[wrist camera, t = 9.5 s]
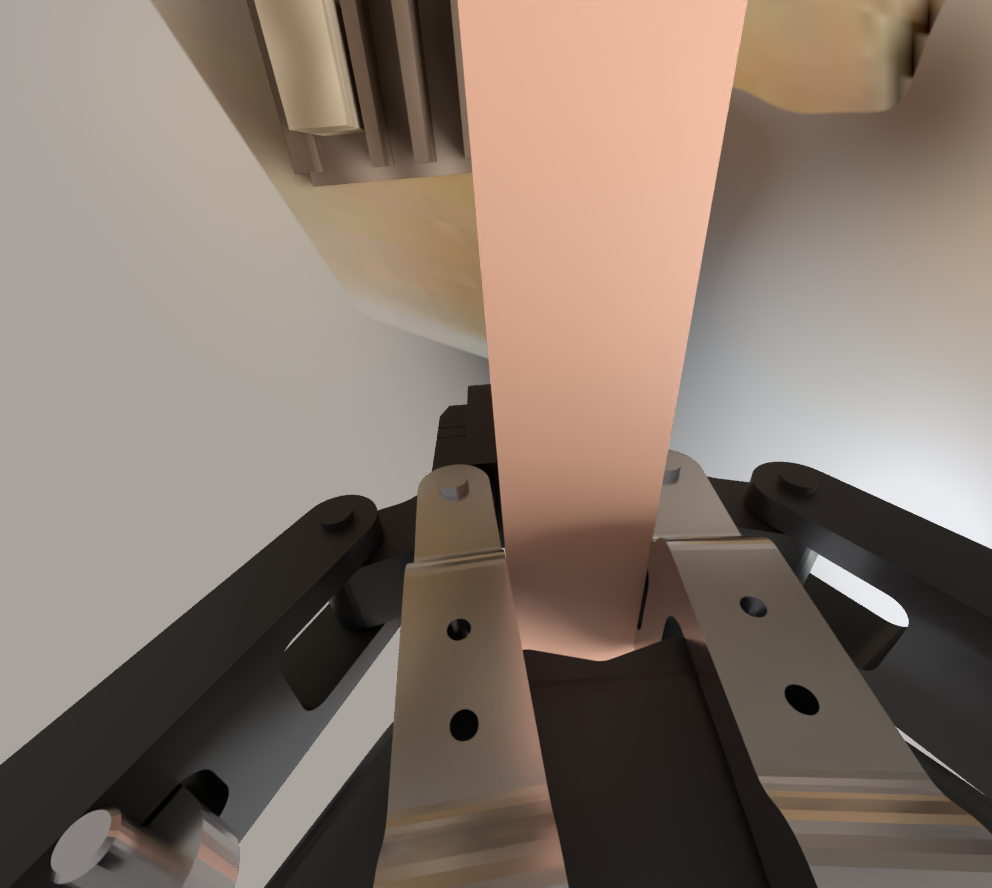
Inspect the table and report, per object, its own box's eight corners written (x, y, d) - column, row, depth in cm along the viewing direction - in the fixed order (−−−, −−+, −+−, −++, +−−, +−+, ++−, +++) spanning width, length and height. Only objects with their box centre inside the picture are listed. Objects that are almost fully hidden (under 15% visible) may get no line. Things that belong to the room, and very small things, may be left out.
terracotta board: (518, 20, 16) (1108, -2058, 1) (532, 457, 27) (601, 827, 12) (464, 25, 16) (288, -1942, 1) (500, 460, 27) (529, 832, 12)
